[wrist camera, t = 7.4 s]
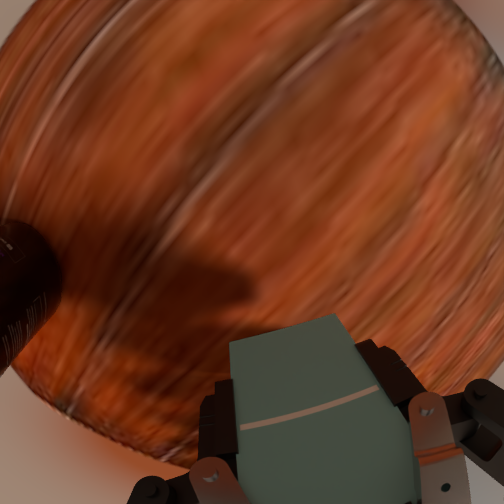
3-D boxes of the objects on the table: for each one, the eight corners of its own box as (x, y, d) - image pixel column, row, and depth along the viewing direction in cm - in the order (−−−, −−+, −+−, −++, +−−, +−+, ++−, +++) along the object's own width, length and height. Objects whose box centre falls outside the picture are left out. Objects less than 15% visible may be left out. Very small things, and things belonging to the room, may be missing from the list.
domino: (229, 341, 12) (247, 570, 3) (334, 312, 12) (454, 500, 3) (240, 372, 13) (265, 572, 4) (337, 345, 13) (432, 518, 4)
